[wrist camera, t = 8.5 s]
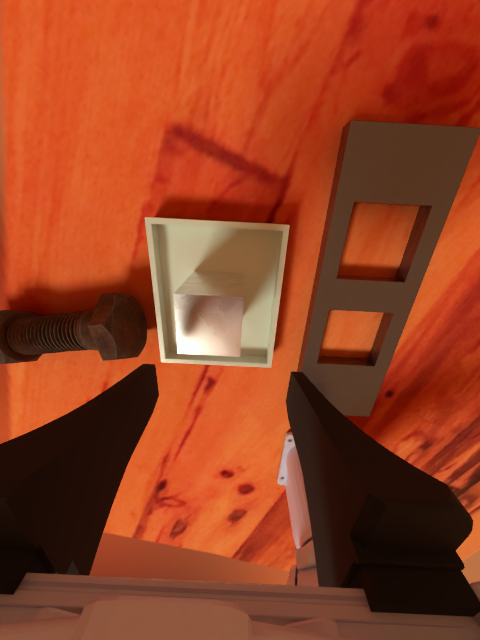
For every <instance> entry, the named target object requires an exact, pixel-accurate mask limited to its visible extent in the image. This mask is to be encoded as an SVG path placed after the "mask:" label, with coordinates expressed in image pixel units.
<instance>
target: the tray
mask: <svg viewBox="0 0 480 640" xmlns="http://www.w3.org/2000/svg"><path fill="white" fill-rule="evenodd" d="M145 224H146V233H147V241H148V250H149V259H150V268H151V277H152V285H153V294H154V303H155V312H156V321H157V329H158V338H159V347H160V356H161V362H167V363H187V364H207V365H227V366H247V367H267V368H271V365H272V358H273V350H274V342H275V335H276V327H277V319H278V312H279V304H280V296H281V288H282V281H283V273H284V265H285V258H286V250H287V242H288V235H289V227H290V225H287V224H272V223H253V222H235V221H217V220H198V219H180V218H162V217H145ZM194 271H210V272H227V273H244V305H243V321H242V336H241V351H240V357H231V356H213V355H195V354H178V352H177V338H176V323H175V309H174V295H173V294H174V293H175V291H176V290H177V289H178V288H179V287H180V286H181V285H182V284H183V283H184V281H185V280H186V279H187V278H188V277H189V276H190V275H191V274H192V273H193V272H194Z"/></svg>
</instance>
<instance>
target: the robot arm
mask: <svg viewBox="0 0 480 640" xmlns="http://www.w3.org/2000/svg"><path fill="white" fill-rule="evenodd" d="M158 396H159V392H158V384H157V376H156V368H155V365H154V364H143V365H141V366H140V367H138V368H137V369H136V370H134V371H133V372H131V373H130V374H129V375H127V376H126V377H124V378H123V379H122V380H120V381H119V382H117V383H116V384H115V385H113V386H112V387H110V388H109V389H107V390H106V391H104V392H103V393H101V394H100V395H98V396H97V397H95V398H94V399H92V400H90V401H89V402H87V403H85V404H84V405H82V406H80V407H79V408H77V409H75V410H73V411H71V412H70V413H68V414H66V415H64V416H62V417H60V418H58V419H56V420H54V421H52V422H50V423H48V424H46V425H44V426H41V427H39V428H37V429H35V430H33V431H31V432H28V433H26V434H24V435H21V436H19V437H17V438H14V439H12V440H9V441H7V442H4V443H2V444H0V640H480V581H479V582H474V583H471V584H469V583H468V582H467V580H466V578H465V576H464V575H463V573H462V572H461V570H463V569H464V564H463V562H462V560H461V559H460V557H459V556H458V554H457V553H456V549H457V548H458V547H459V546H460V545H461V544H462V543H463V542H464V540H465V539H466V538H467V537H468V536H469V534H470V533H471V531H472V527H473V520H472V518H471V516H470V514H469V513H468V512H467V510H466V509H465V508H464V506H463V505H462V504H461V503H460V501H459V500H458V499H457V497H456V496H455V495H454V493H453V492H452V491H451V489H450V488H449V487H448V486H447V485H446V484H444V483H443V482H441V481H439V480H437V479H436V478H434V477H432V476H430V475H428V474H427V473H425V472H423V471H421V470H420V469H418V468H416V467H414V466H413V465H411V464H409V463H408V462H406V461H405V460H403V459H402V458H400V457H398V456H397V455H395V454H394V453H392V452H391V451H389V450H388V449H386V448H385V447H383V446H382V445H380V444H379V443H378V442H376V441H375V440H374V439H372V438H371V437H369V436H368V435H367V434H365V433H364V432H363V431H362V430H360V429H359V428H358V427H357V426H356V425H354V424H353V423H352V422H351V421H350V420H348V419H347V418H346V417H345V416H344V415H343V414H342V413H341V412H340V411H339V410H338V409H336V408H335V407H334V406H333V405H332V404H331V403H330V402H329V401H328V400H327V399H326V398H325V396H324V395H323V394H322V393H321V392H320V391H319V390H318V389H317V388H316V387H315V385H314V384H313V383H312V382H311V381H310V380H309V379H308V378H307V376H306V375H305V374H304V373H303V372H291V376H290V382H289V387H288V393H287V399H286V404H287V412H288V419H289V423H290V427H291V431H292V432H288V433H287V434H286V437H285V442H284V447H283V452H282V458H281V463H280V468H279V473H278V479H277V482H278V484H279V485H285V486H286V493H287V499H288V506H289V512H290V519H291V525H292V532H293V537H294V541H295V545H296V547H297V549H296V550H295V556H296V563H297V565H293V566H292V567H291V569H290V572H289V577H288V579H287V584H286V585H271V584H251V583H250V584H249V583H231V582H230V583H229V582H209V581H190V580H189V581H188V580H168V579H148V578H128V577H127V578H126V577H107V576H106V577H105V576H89V574H90V571H91V568H92V565H93V561H94V558H95V555H96V552H97V548H98V546H99V542H100V539H101V536H102V533H103V531H104V528H105V525H106V522H107V519H108V516H109V513H110V510H111V507H112V504H113V502H114V499H115V496H116V493H117V491H118V488H119V485H120V483H121V480H122V478H123V475H124V472H125V470H126V467H127V465H128V462H129V460H130V458H131V456H132V454H133V452H134V450H135V448H136V446H137V444H138V442H139V440H140V438H141V436H142V434H143V432H144V430H145V428H146V425H147V423H148V421H149V419H150V417H151V415H152V413H153V410H154V408H155V405H156V402H157V399H158Z"/></svg>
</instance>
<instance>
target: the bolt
mask: <svg viewBox="0 0 480 640" xmlns="http://www.w3.org/2000/svg"><path fill="white" fill-rule="evenodd" d="M146 339H147V324H146V319H145V315H144V312H143V309H142V308H141V306H140V304H139V303H138V302H137V301H136V299H135V298H134V297H131V296H128V295H124V294H117V293H111V294H101V296H100V298H99V301H98V303H97V305H96V308H95V309H93V310H89V311H84V312H75V313H66V314H55V315H46V316H38V315H37V314H36V313H32V312H26V311H13V310H2V311H0V364H7V363H19V362H29V361H37V360H38V358H39V357H40V356H41V355H42V354H45V353H56V352H65V351H80V350H98V351H99V353H100V355H101V357H102V360H103V361H104V360H116V359H126V358H133V357H138V356H139V354H140V353H141V351H142V350H143V348H144V346H145V344H146Z"/></svg>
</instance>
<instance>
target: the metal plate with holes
mask: <svg viewBox="0 0 480 640" xmlns="http://www.w3.org/2000/svg"><path fill="white" fill-rule="evenodd" d="M479 134H480V128H475V127H458V126H440V125H423V124H406V123H389V122H371V121H354V120H351V121H350V122H349V123H348V124H347V125H345V126H344V127H343V132H342V137H341V142H340V147H339V153H338V158H337V163H336V169H335V174H334V179H333V184H332V190H331V195H330V200H329V206H328V211H327V216H326V221H325V227H324V232H323V237H322V243H321V248H320V253H319V258H318V264H317V269H316V274H315V280H314V285H313V290H312V295H311V301H310V306H309V311H308V317H307V322H306V327H305V332H304V338H303V343H302V348H301V354H300V359H299V364H298V369H297V372H303V373H304V374H305V375H306V376H307V378H308V379H309V380H310V381H311V382H312V383H313V384H314V385H315V387H316V388H317V389H318V390H319V391H320V392H321V393H322V394H323V395H324V396H325V398H326V399H327V400H328V401H329V402H330V403H331V404H332V405H333V406H334V407H335V408H336V409H338V410H339V411H340V412H341V413H342V414H343V415H348V416H368V417H369V416H370V413H371V411H372V408H373V406H374V403H375V401H376V398H377V396H378V393H379V390H380V388H381V385H382V383H383V380H384V378H385V375H386V372H387V370H388V367H389V365H390V362H391V360H392V357H393V355H394V352H395V349H396V347H397V344H398V342H399V339H400V337H401V334H402V332H403V329H404V326H405V324H406V321H407V319H408V316H409V314H410V311H411V308H412V306H413V303H414V301H415V298H416V296H417V293H418V291H419V288H420V285H421V283H422V280H423V278H424V275H425V273H426V270H427V267H428V265H429V262H430V260H431V257H432V255H433V252H434V250H435V247H436V244H437V242H438V239H439V237H440V234H441V232H442V229H443V227H444V224H445V221H446V219H447V216H448V214H449V211H450V209H451V206H452V203H453V201H454V198H455V196H456V193H457V191H458V188H459V186H460V183H461V180H462V178H463V175H464V173H465V170H466V168H467V165H468V163H469V160H470V157H471V155H472V152H473V150H474V147H475V145H476V142H477V139H478V137H479ZM354 203H368V204H387V205H405V206H420V208H419V211H418V214H417V217H416V220H415V223H414V226H413V229H412V232H411V235H410V238H409V241H408V244H407V247H406V249H405V252H404V255H403V258H402V261H401V264H400V267H399V270H398V273H397V276H396V279H393V278H374V277H355V276H337V274H338V270H339V265H340V261H341V257H342V252H343V248H344V244H345V239H346V235H347V231H348V226H349V222H350V217H351V213H352V209H353V204H354ZM329 310H346V311H366V312H384V314H383V317H382V320H381V323H380V326H379V329H378V332H377V335H376V338H375V341H374V344H373V347H372V350H371V353H370V356H369V358H368V359H358V358H338V357H319V352H320V348H321V344H322V339H323V335H324V331H325V326H326V322H327V318H328V313H329Z"/></svg>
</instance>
